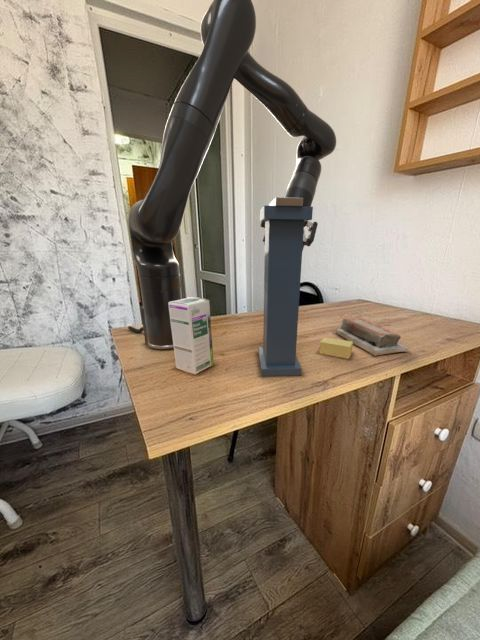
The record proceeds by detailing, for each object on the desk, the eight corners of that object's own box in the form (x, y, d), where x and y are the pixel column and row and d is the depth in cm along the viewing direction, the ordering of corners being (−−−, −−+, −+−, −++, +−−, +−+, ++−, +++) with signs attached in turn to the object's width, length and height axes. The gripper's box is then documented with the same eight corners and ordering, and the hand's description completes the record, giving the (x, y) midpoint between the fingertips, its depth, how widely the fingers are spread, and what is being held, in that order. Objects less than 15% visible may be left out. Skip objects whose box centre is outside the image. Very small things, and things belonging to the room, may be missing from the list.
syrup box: (195, 375, 59) (189, 304, 54) (174, 368, 62) (167, 300, 56) (214, 365, 63) (210, 299, 58) (194, 359, 66) (189, 295, 61)
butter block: (319, 353, 71) (320, 341, 70) (323, 348, 74) (324, 336, 73) (348, 359, 68) (350, 347, 67) (351, 353, 71) (353, 341, 70)
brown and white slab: (275, 205, 47) (276, 192, 46) (264, 213, 69) (264, 205, 69) (302, 206, 47) (303, 193, 47) (283, 214, 70) (283, 205, 69)
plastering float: (335, 317, 83) (365, 314, 86) (334, 333, 85) (363, 330, 88) (377, 337, 67) (412, 333, 70) (374, 357, 69) (408, 352, 72)
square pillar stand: (261, 376, 59) (264, 205, 48) (258, 353, 70) (259, 210, 59) (300, 375, 60) (313, 206, 48) (291, 352, 71) (299, 211, 59)
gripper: (277, 175, 74) (257, 231, 71) (329, 198, 75) (311, 253, 73) (271, 194, 81) (253, 246, 78) (318, 214, 83) (302, 265, 80)
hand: (281, 249), depth 75 cm, fingers open, 8 cm apart
